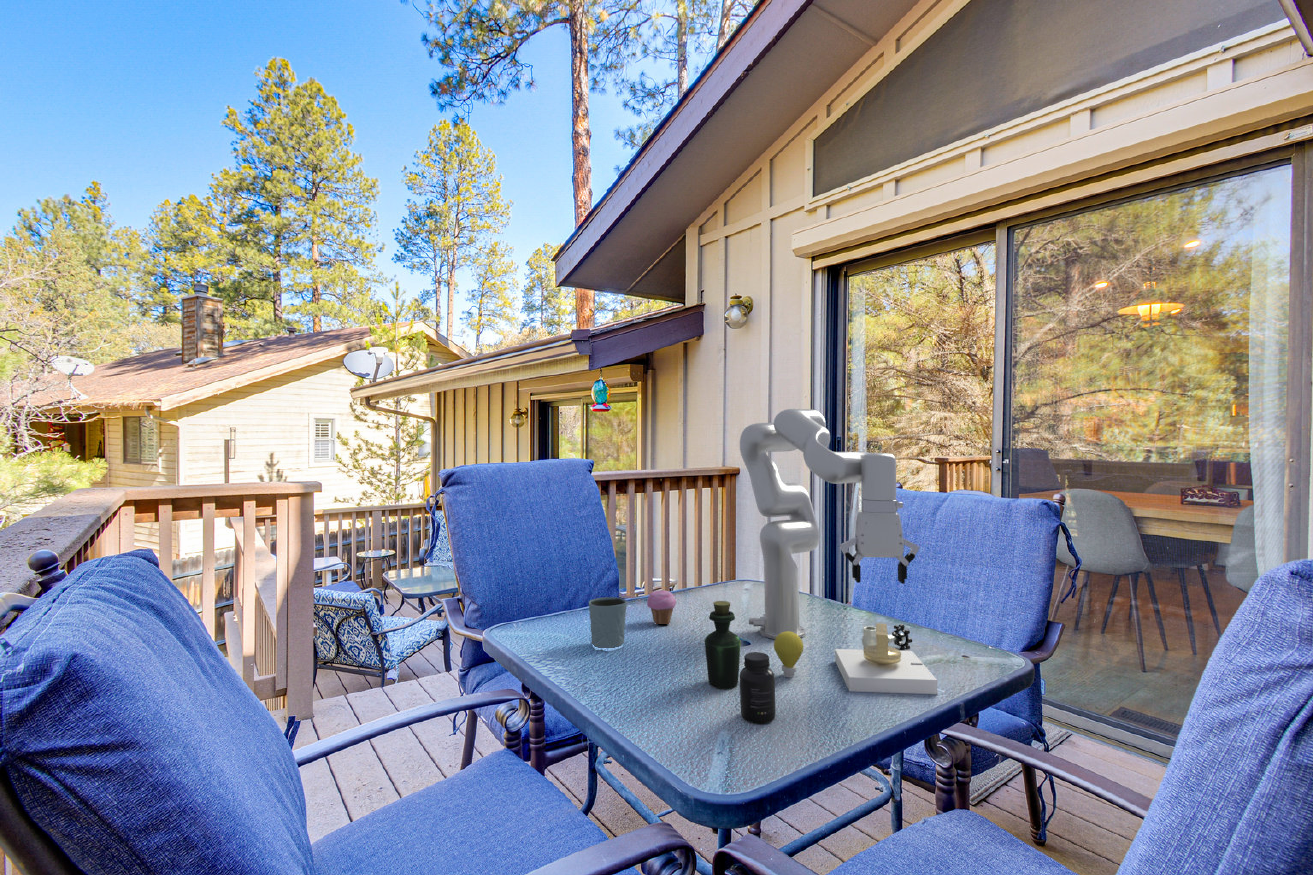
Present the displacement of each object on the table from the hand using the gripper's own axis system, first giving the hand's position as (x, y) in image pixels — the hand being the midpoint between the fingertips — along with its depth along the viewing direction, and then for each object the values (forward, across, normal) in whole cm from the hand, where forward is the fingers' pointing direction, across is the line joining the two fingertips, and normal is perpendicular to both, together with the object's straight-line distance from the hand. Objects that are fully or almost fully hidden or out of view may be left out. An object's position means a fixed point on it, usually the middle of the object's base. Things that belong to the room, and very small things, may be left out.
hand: (879, 581), depth 138 cm
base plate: (+22, 0, +1) cm, 22 cm away
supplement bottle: (+22, +29, +24) cm, 43 cm away
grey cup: (+23, +67, -15) cm, 72 cm away
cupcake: (+23, +55, -36) cm, 69 cm away
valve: (+22, -5, -16) cm, 28 cm away
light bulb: (+22, +21, +2) cm, 30 cm away
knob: (+18, -1, -1) cm, 18 cm away
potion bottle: (+22, +36, +8) cm, 42 cm away
